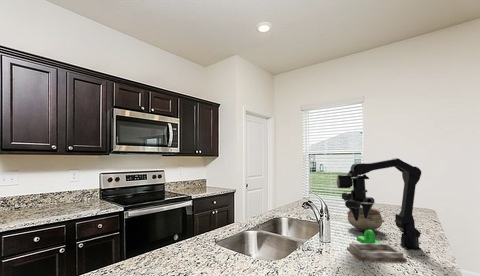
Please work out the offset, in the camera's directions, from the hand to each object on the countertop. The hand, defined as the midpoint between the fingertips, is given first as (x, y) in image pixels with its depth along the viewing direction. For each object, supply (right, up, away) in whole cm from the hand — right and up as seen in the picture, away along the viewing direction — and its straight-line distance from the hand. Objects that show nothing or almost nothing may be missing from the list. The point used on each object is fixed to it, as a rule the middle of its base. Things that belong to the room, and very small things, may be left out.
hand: (361, 219), depth 126 cm
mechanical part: (+5, -13, +1) cm, 14 cm away
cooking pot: (+14, -15, +24) cm, 31 cm away
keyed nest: (0, -12, -13) cm, 18 cm away
